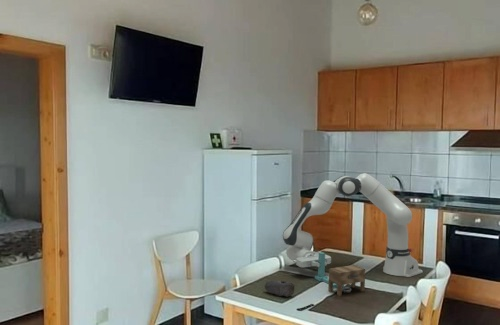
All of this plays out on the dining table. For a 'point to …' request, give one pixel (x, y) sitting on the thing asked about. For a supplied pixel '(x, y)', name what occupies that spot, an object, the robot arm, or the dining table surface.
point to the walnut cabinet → (346, 277)
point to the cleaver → (305, 307)
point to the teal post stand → (323, 270)
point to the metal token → (346, 289)
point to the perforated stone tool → (280, 288)
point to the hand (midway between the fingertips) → (322, 264)
